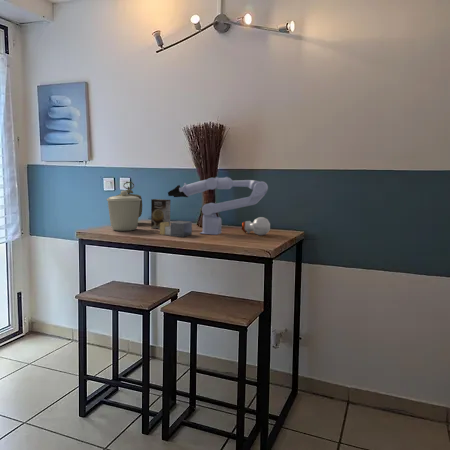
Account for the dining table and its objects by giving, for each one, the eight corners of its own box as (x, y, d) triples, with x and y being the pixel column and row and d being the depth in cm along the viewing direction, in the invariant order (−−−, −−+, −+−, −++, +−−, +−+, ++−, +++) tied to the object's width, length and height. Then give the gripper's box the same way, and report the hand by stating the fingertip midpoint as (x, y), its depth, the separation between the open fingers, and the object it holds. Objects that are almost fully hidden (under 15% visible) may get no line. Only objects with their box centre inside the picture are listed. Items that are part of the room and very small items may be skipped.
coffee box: (150, 228, 236) (150, 199, 234) (156, 227, 242) (156, 198, 240) (165, 229, 233) (165, 199, 231) (170, 227, 239) (170, 199, 237)
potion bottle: (268, 239, 214) (244, 239, 223) (276, 226, 220) (252, 227, 229) (261, 225, 209) (237, 226, 218) (269, 212, 215) (245, 214, 224)
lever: (184, 234, 214) (184, 222, 213) (180, 236, 209) (180, 224, 209) (164, 233, 217) (164, 221, 217) (160, 234, 213) (160, 222, 212)
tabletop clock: (136, 222, 263) (136, 181, 259) (144, 223, 256) (143, 182, 253) (114, 223, 253) (114, 181, 250) (121, 225, 246) (121, 182, 243)
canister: (137, 232, 218) (137, 191, 216) (102, 231, 219) (101, 190, 216) (144, 228, 236) (144, 190, 234) (112, 227, 237) (111, 189, 234)
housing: (191, 234, 215) (191, 221, 215) (183, 237, 206) (183, 223, 205) (179, 233, 218) (179, 220, 217) (170, 236, 208) (170, 222, 207)
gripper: (197, 182, 226) (174, 188, 229) (189, 179, 212) (164, 186, 215) (200, 194, 225) (177, 201, 229) (192, 192, 211) (167, 199, 214)
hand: (171, 194), depth 222 cm, fingers open, 7 cm apart
